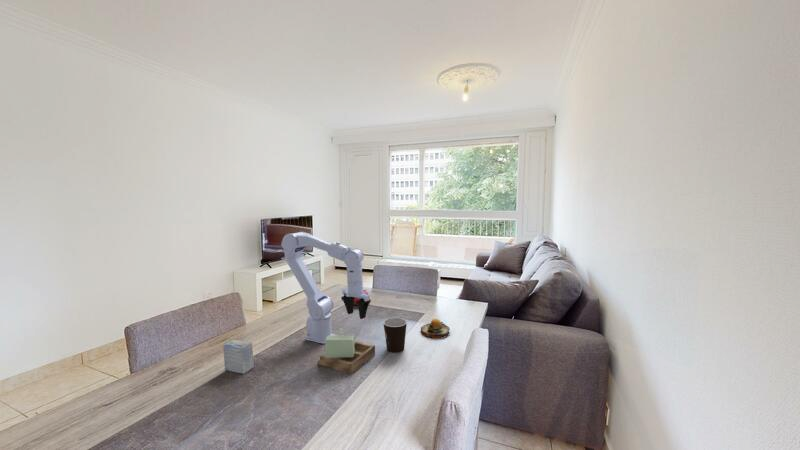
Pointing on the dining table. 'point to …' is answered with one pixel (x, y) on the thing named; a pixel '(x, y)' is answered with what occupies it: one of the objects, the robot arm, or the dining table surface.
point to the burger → (435, 329)
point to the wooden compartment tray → (350, 358)
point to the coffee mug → (395, 334)
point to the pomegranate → (358, 298)
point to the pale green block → (339, 346)
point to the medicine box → (238, 356)
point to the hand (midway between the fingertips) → (356, 315)
